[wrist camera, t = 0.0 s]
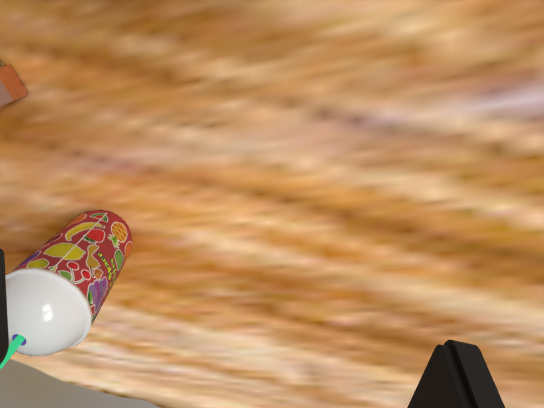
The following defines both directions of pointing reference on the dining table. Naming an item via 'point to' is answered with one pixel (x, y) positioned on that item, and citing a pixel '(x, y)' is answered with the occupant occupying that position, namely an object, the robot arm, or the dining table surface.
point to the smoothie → (65, 284)
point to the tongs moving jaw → (10, 85)
